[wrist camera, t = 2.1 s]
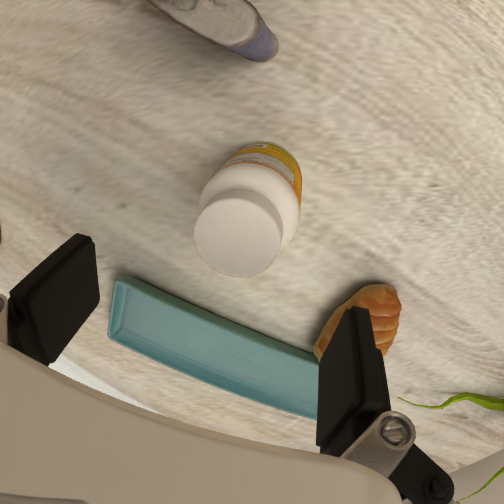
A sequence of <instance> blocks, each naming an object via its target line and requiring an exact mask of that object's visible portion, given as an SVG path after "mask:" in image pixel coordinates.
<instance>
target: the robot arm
mask: <svg viewBox="0 0 504 504" xmlns="http://www.w3.org/2000/svg"><path fill="white" fill-rule="evenodd" d="M9 293H10V298H9V299H8V300H7V298H6V296H4V295H3V294H0V504H460V503H459V501H456V502H454V500H453V499H452V498H453V495H454V484H453V482H452V479H451V478H450V476H449V475H448V474H447V473H446V472H445V471H444V470H443V469H441V468H440V467H439V466H438V465H437V464H436V463H435V462H434V461H433V460H431V459H430V458H429V457H428V456H427V455H426V454H425V453H424V452H423V451H422V450H421V449H419V448H418V447H417V446H416V445H415V444H414V441H415V438H416V431H415V427H414V425H413V423H412V421H411V420H410V419H409V418H408V417H407V416H405V415H404V414H402V413H400V412H397V411H391V405H390V398H389V391H388V385H387V379H386V373H385V367H384V361H383V355H382V352H381V350H380V349H378V348H376V344H375V338H374V333H373V327H372V322H371V317H370V312H369V309H367V308H363V307H358V306H352V307H351V309H348V308H346V309H345V311H344V313H343V315H342V317H341V319H340V321H339V323H338V326H337V328H336V330H335V332H334V334H333V336H332V338H331V340H330V342H329V344H328V346H327V347H326V349H325V351H324V353H323V355H322V357H321V359H320V363H319V372H318V408H317V430H316V445H317V446H320V453H314V452H309V451H304V450H298V449H292V448H287V447H282V446H276V445H272V444H267V443H262V442H258V441H253V440H248V439H244V438H240V437H235V436H231V435H227V434H223V433H219V432H216V431H212V430H208V429H205V428H201V427H198V426H194V425H191V424H188V423H184V422H181V421H178V420H175V419H172V418H169V417H165V416H162V415H160V414H157V413H154V412H151V411H148V410H145V409H143V408H140V407H137V406H134V405H132V404H129V403H127V402H124V401H122V400H119V399H117V398H114V397H112V396H109V395H107V394H105V393H102V392H100V391H97V390H95V389H93V388H90V387H88V386H86V385H84V384H82V383H80V382H77V381H75V380H73V379H71V378H69V377H67V376H65V375H63V374H61V373H59V372H57V371H55V370H53V369H51V368H49V367H48V366H49V364H50V363H54V362H55V361H56V359H57V358H58V357H59V355H60V354H61V352H62V351H63V350H64V348H65V347H66V346H67V344H68V343H69V342H70V340H71V339H72V338H73V336H74V335H75V334H76V332H77V331H78V330H79V328H80V327H81V326H82V325H83V323H84V322H85V321H86V319H87V318H88V317H89V316H90V314H91V313H92V312H93V311H94V309H95V308H96V307H97V305H98V303H99V300H100V293H99V285H98V275H97V265H96V253H95V244H94V242H93V241H92V239H91V237H89V236H86V235H83V234H79V233H76V234H75V235H73V236H72V237H71V238H70V239H69V240H67V241H66V242H65V243H64V244H63V245H61V246H60V247H59V248H58V249H57V250H55V251H54V252H53V253H52V254H51V255H50V256H48V257H47V258H46V259H45V260H44V261H43V262H41V263H40V264H39V265H38V266H37V267H36V268H35V269H34V270H32V271H31V272H30V273H29V274H28V275H27V276H26V277H25V278H24V279H23V280H22V281H20V282H19V283H18V284H17V285H16V286H15V287H14V288H13V289H12V290H11V291H10V292H9Z"/></svg>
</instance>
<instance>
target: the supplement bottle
mask: <svg viewBox="0 0 504 504" xmlns="http://www.w3.org/2000/svg"><path fill="white" fill-rule="evenodd" d="M301 191H302V176H301V171H300V167H299V165H298V163H297V161H296V160H295V158H294V157H293V156H292V155H291V154H290V153H289V152H288V151H287V150H286V149H284V148H282V147H281V146H279V145H276V144H273V143H268V142H256V143H251V144H249V145H246V146H244V147H242V148H241V149H239V150H238V151H237V152H236V153H235V154H233V155H232V156H231V157H230V159H229V160H228V161H227V162H226V163H225V164H224V165H223V166H222V167H221V168H220V169H219V170H218V171H217V172H216V173H215V174H214V175H213V176H212V177H211V179H210V180H209V181H208V183H207V184H206V185H205V187H204V189H203V191H202V193H201V195H200V199H199V203H198V217H197V220H196V222H195V226H194V242H195V246H196V249H197V251H198V253H199V254H200V256H201V257H202V259H203V260H204V261H205V262H206V263H207V264H208V265H209V266H210V267H212V268H213V269H214V270H216V271H218V272H220V273H222V274H225V275H228V276H232V277H250V276H254V275H257V274H260V273H262V272H263V271H265V270H266V269H268V268H269V267H270V266H271V265H272V264H273V263H274V261H275V260H276V258H277V256H278V254H279V252H280V251H282V250H283V249H284V248H285V247H286V246H287V245H288V244H289V243H290V242H291V240H292V239H293V237H294V235H295V233H296V231H297V228H298V223H299V218H300V204H301Z"/></svg>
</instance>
